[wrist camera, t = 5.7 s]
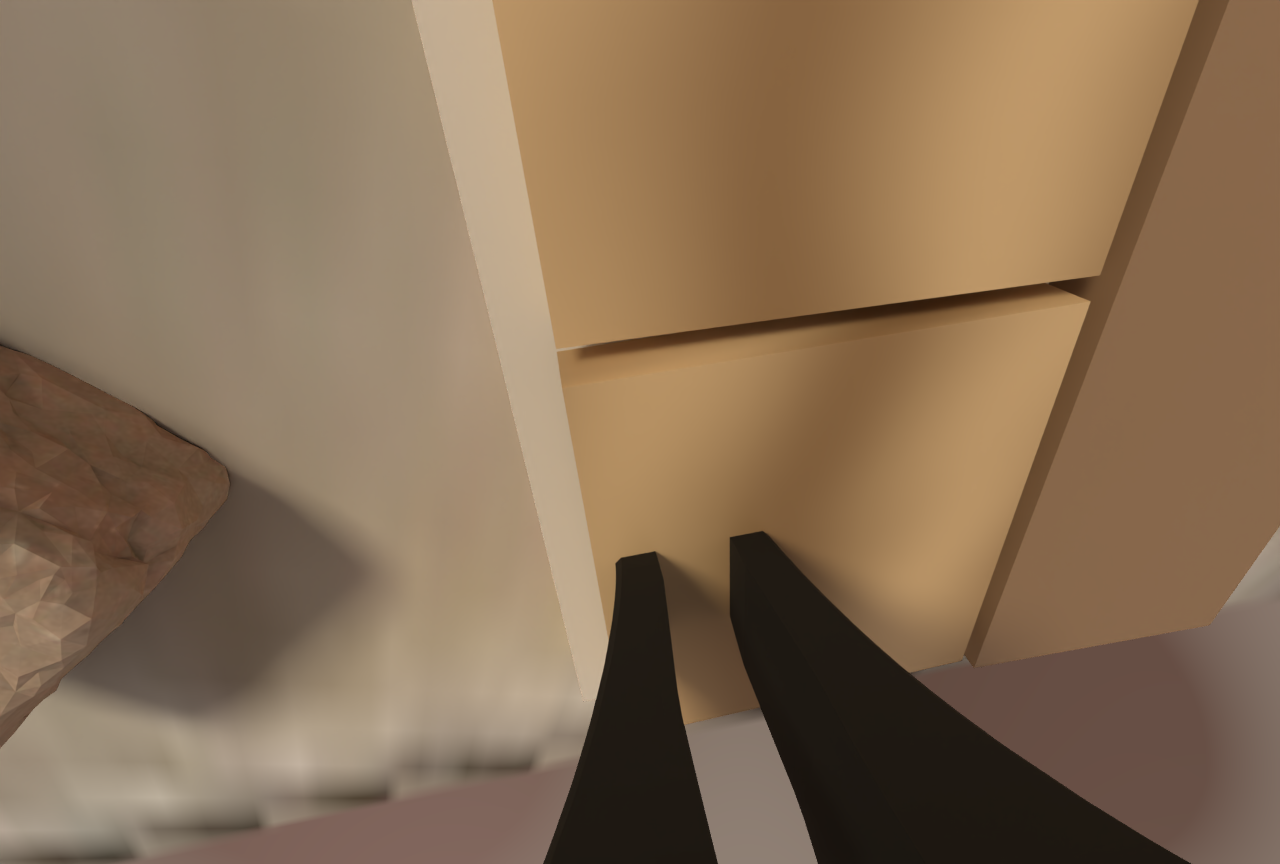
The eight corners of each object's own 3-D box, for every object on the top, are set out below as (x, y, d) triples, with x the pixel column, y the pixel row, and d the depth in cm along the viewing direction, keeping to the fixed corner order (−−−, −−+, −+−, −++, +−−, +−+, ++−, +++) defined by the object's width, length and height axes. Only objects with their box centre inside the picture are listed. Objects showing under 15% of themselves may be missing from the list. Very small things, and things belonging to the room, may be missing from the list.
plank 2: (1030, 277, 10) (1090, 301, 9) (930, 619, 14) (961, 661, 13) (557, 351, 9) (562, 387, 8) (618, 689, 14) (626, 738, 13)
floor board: (1862, -845, 6) (2738, -1449, 4) (1123, 557, 17) (1216, 637, 14) (236, -845, 5) (-60, -1707, 2) (580, 651, 16) (586, 753, 13)
